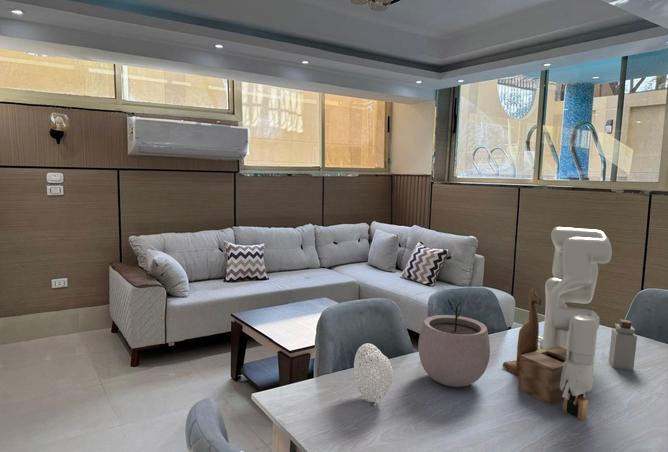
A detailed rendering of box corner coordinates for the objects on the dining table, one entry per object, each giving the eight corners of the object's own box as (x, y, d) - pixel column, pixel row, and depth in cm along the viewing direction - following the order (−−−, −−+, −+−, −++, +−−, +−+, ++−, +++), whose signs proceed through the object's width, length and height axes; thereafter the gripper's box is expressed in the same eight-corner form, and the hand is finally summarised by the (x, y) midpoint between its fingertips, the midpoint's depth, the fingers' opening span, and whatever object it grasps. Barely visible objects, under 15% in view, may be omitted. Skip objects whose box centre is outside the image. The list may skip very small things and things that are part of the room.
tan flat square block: (562, 410, 139) (564, 392, 139) (567, 408, 141) (569, 390, 140) (581, 420, 134) (583, 401, 133) (586, 418, 135) (588, 399, 135)
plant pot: (499, 382, 157) (505, 299, 154) (467, 406, 140) (473, 313, 136) (438, 361, 173) (443, 285, 170) (403, 381, 156) (407, 297, 152)
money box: (517, 388, 153) (520, 355, 151) (554, 377, 163) (557, 345, 161) (549, 405, 142) (552, 368, 141) (586, 391, 152) (590, 357, 151)
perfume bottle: (628, 363, 177) (633, 319, 175) (633, 370, 171) (638, 324, 169) (608, 360, 179) (613, 317, 177) (613, 367, 173) (617, 322, 171)
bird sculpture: (525, 382, 159) (536, 294, 155) (501, 367, 170) (510, 285, 165) (548, 377, 164) (559, 292, 159) (523, 363, 174) (532, 283, 170)
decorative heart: (398, 414, 134) (401, 359, 132) (365, 418, 131) (367, 362, 129) (376, 386, 151) (378, 337, 149) (346, 389, 148) (348, 340, 146)
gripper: (583, 347, 142) (578, 402, 145) (552, 356, 135) (546, 414, 137) (607, 356, 136) (601, 413, 138) (576, 365, 128) (570, 426, 130)
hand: (574, 413), depth 137 cm, fingers closed on tan flat square block, 2 cm apart
